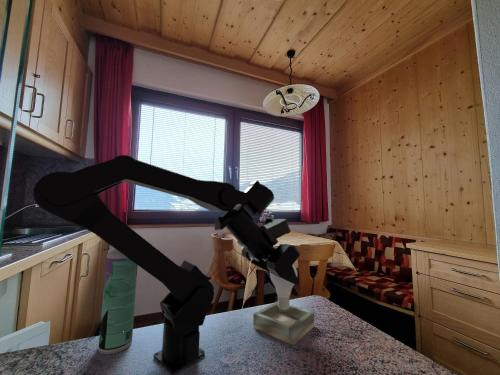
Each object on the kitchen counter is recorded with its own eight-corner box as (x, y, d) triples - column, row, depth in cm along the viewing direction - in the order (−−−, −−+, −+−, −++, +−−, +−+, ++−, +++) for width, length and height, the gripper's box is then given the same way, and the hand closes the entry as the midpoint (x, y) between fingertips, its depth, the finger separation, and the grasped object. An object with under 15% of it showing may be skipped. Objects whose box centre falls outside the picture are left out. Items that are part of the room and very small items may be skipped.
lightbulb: (277, 317, 46) (278, 262, 48) (264, 306, 52) (265, 257, 53) (303, 313, 48) (302, 261, 50) (288, 303, 54) (288, 256, 56)
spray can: (132, 335, 45) (139, 236, 48) (131, 349, 40) (139, 238, 43) (101, 341, 43) (110, 237, 46) (95, 357, 38) (106, 239, 41)
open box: (253, 328, 49) (253, 313, 49) (277, 313, 57) (277, 301, 57) (293, 345, 43) (293, 328, 43) (314, 326, 50) (314, 312, 51)
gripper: (291, 204, 43) (336, 259, 46) (253, 207, 60) (287, 248, 63) (254, 246, 39) (305, 304, 42) (224, 237, 56) (262, 278, 59)
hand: (288, 278), depth 52 cm, fingers closed on lightbulb, 6 cm apart
